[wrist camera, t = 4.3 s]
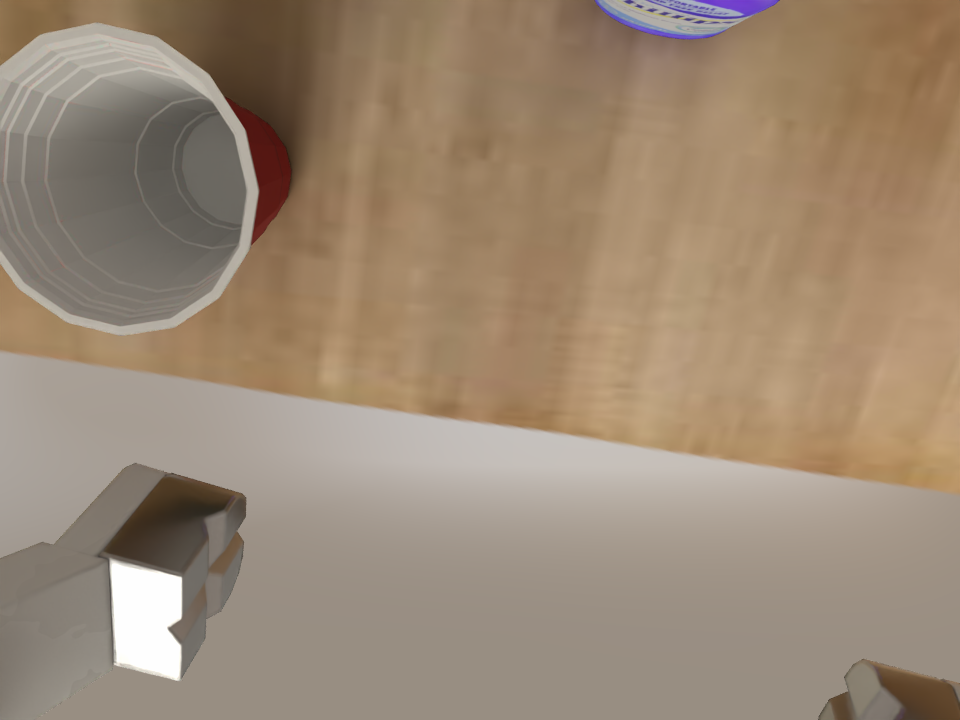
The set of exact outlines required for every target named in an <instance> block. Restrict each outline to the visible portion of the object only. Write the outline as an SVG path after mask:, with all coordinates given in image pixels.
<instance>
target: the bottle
mask: <svg viewBox="0 0 960 720" xmlns="http://www.w3.org/2000/svg"><path fill="white" fill-rule="evenodd" d="M778 1H779V0H595V2H596V3H597V5H598V6H599V7H600V8H601V9H602V10H603V11H604V12H605V13H606V14H608V15H609V16H610V17H612V18H613V19H615V20H617V21H619V22H621V23H623V24H625V25H627V26H629V27H632V28H634V29H637V30H640V31H643V32H646V33H650V34H654V35H659V36H664V37H670V38H677V39H699V38H707V37H712V36H714V35H717V34H719V33H722V32H723V31H725V30H727V29H728V28H730V27H731V26H734V25H736V24H738V23H740V22H742V21H743V20H745V19H747V18H749V17H751V16H753V15H755V14H757V13H759V12H761V11H763V10H765V9H767V8H769V7H771V6H773V5H775V4H776V3H777V2H778Z"/></svg>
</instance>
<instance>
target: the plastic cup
mask: <svg viewBox="0 0 960 720" xmlns="http://www.w3.org/2000/svg"><path fill="white" fill-rule="evenodd" d="M290 177H291V168H290V164H289V159H288V155H287V151H286V148H285V146H284V145H283V143H282V142H281V140H280V139H279V137H278V136H277V134H276V133H275V131H274V130H273V128H272V127H271V126H270V125H269V124H268V123H266V122H265V121H263V120H262V119H261V118H259V117H258V116H256V115H255V114H253V113H252V112H251V111H249V110H247V109H245V108H242V107H240V106H239V105H237V104H236V103H234V102H233V101H232V100H230V99H228V98H226V97H224V96H223V95H222V93H221V92H220V90H219V89H218V87H217V86H216V84H215V83H214V81H213V80H212V78H211V77H210V75H209V74H208V73H206V72H205V71H204V70H202V69H201V68H200V67H198V66H197V65H195V64H194V63H193V62H191V61H190V60H189V59H187V58H186V57H184V56H183V55H182V54H180V53H179V52H178V51H176V50H175V49H173V48H172V47H171V46H169V45H168V44H167V43H165V42H164V41H162V40H161V39H160V38H158V37H157V36H153V35H148V34H144V33H140V32H135V31H131V30H127V29H123V28H118V27H114V26H110V25H106V24H101V23H93V24H88V25H83V26H78V27H74V28H69V29H64V30H60V31H55V32H50V33H45V34H41V35H39V36H38V37H37V38H35V39H34V40H33V41H31V42H30V43H29V44H28V45H26V46H25V47H24V48H23V49H21V50H20V51H19V52H17V53H16V54H15V55H14V56H12V57H11V58H10V59H9V60H7V61H6V62H5V63H4V64H2V65H1V66H0V264H1V265H2V267H3V268H4V269H5V271H6V272H7V274H8V275H9V276H10V278H11V279H12V281H13V282H14V283H15V285H16V286H17V287H18V289H19V290H21V291H22V292H24V293H25V294H27V295H28V296H29V297H31V298H32V299H34V300H35V301H37V302H38V303H40V304H41V305H42V306H44V307H45V308H47V309H48V310H50V311H51V312H53V313H54V314H55V315H57V316H58V317H60V318H61V319H63V320H64V321H66V322H67V323H71V324H75V325H79V326H83V327H87V328H91V329H96V330H100V331H104V332H108V333H112V334H116V335H120V336H124V335H130V334H136V333H143V332H149V331H155V330H162V329H168V328H174V327H176V326H177V325H179V324H181V323H182V322H184V321H185V320H187V319H188V318H190V317H191V316H193V315H194V314H196V313H197V312H199V311H200V310H202V309H203V308H205V307H206V306H208V305H209V304H211V303H212V302H214V301H215V300H217V299H218V298H220V296H221V295H222V293H223V291H224V290H225V288H226V287H227V285H228V283H229V282H230V280H231V279H232V277H233V275H234V274H235V272H236V270H237V269H238V267H239V266H240V264H241V262H242V261H243V259H244V258H245V256H246V254H247V253H248V251H249V250H250V248H251V245H252V244H253V243H254V242H255V241H256V240H257V239H258V238H259V237H260V236H261V235H262V234H263V233H264V231H265V230H266V228H267V226H268V225H269V223H270V222H271V221H272V220H273V219H274V218H275V217H276V215H277V214H278V212H279V210H280V209H281V207H282V205H283V204H284V202H285V200H286V199H287V197H288V191H289V184H290Z"/></svg>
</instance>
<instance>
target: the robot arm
mask: <svg viewBox="0 0 960 720" xmlns="http://www.w3.org/2000/svg"><path fill="white" fill-rule="evenodd" d="M245 517H246V497H245V496H244V495H243V494H242V493H239V492H235V491H232V490H228V489H225V488H221V487H218V486H215V485H211V484H208V483H205V482H201V481H197V480H194V479H191V478H188V477H184V476H181V475H177V474H174V473H167V472H164V471H160V470H157V469H154V468H150V467H147V466H144V465H141V464H137V463H134V464H132V465H130V466H127V467H125V468H124V469H123V470H122V471H121V472H120V473H119V474H118V475H117V476H116V477H115V478H114V479H113V481H112V482H111V483H110V484H109V485H108V486H107V487H106V488H105V489H104V490H103V492H102V493H101V494H100V495H99V496H98V497H97V498H96V499H95V500H94V501H93V502H92V503H91V504H90V506H89V507H88V508H87V509H86V510H85V511H84V512H83V513H82V514H81V515H80V516H79V518H78V519H77V520H76V521H75V522H74V523H73V524H72V525H71V526H70V527H69V528H68V529H67V531H66V532H65V533H64V534H63V535H62V536H61V537H60V538H59V539H58V540H57V541H56V543H55V544H54V545H52V544H48V543H44V542H41V543H38V544H36V545H33V546H30V547H28V548H25V549H23V550H20V551H18V552H15V553H13V554H10V555H7V556H5V557H3V558H0V720H36V719H37V718H38V717H40V716H41V715H43V714H45V713H46V712H48V711H49V710H51V709H52V708H54V707H56V706H57V705H59V704H60V703H62V702H63V701H65V700H66V699H68V698H69V697H71V696H72V695H74V694H76V693H77V692H79V691H80V690H82V689H83V688H85V687H86V686H88V685H89V684H91V683H92V682H94V681H96V680H97V679H99V678H100V677H102V676H103V675H105V674H106V673H108V672H109V671H111V670H112V669H113V665H116V666H121V667H125V668H129V669H133V670H137V671H141V672H145V673H149V674H153V675H157V676H162V677H166V678H170V679H174V680H178V681H181V679H182V677H183V675H184V674H185V672H186V670H187V669H188V667H189V665H190V663H191V662H192V660H193V659H194V657H195V655H196V653H197V652H198V650H199V648H200V646H201V645H202V643H203V641H204V640H205V634H206V619H207V618H209V617H211V616H213V615H215V614H217V613H219V612H221V610H222V609H223V607H224V605H225V603H226V601H227V600H228V598H229V596H230V594H231V592H232V589H233V587H234V584H235V582H236V579H237V576H238V574H239V570H240V566H241V561H242V557H243V547H244V541H243V540H242V538H241V537H240V535H239V534H238V532H237V530H238V528H239V527H240V525H241V524H242V522H243V520H244V519H245ZM844 678H845V681H846V685H847V688H848V692H845V693H843V694H840V695H838V696H836V697H833V698H831V699H829V700H828V702H827V704H826V705H825V707H824V709H823V710H822V712H821V714H820V715H819V718H818V720H960V683H956V682H953V681H949V680H944V679H938V678H936V677H932V676H928V675H924V674H920V673H916V672H913V671H909V670H904V669H900V668H897V667H893V666H889V665H885V664H881V663H877V662H873V661H870V660H866V659H862V660H860V661H858V662H856V663H855V664H853V665H852V667H851V668H850V669H849V671H848V672H847V674H846V675H845V677H844Z"/></svg>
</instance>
